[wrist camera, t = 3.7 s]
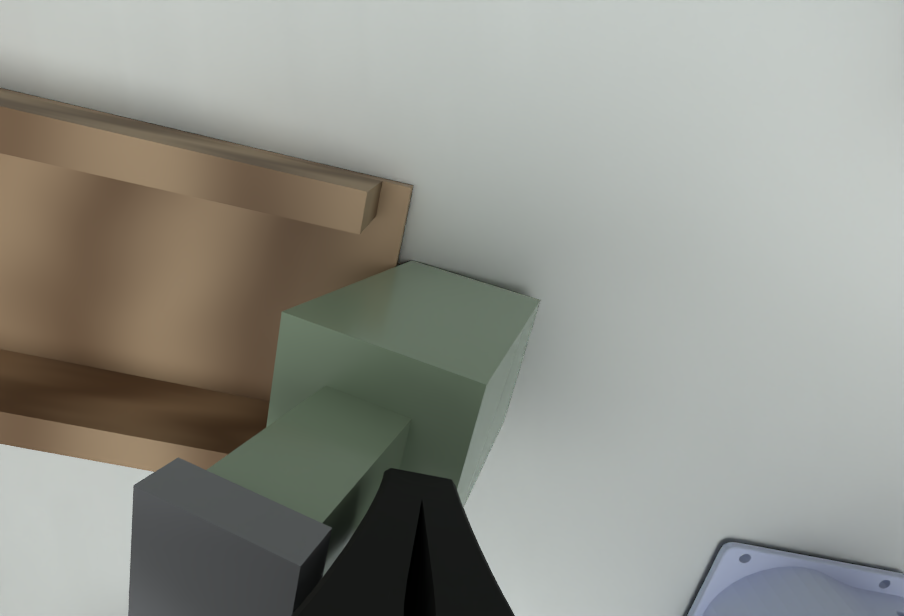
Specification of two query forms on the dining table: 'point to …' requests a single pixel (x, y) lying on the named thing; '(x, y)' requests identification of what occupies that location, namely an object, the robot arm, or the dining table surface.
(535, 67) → the dining table surface
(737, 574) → the robot arm
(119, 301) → the cradle
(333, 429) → the bottle
